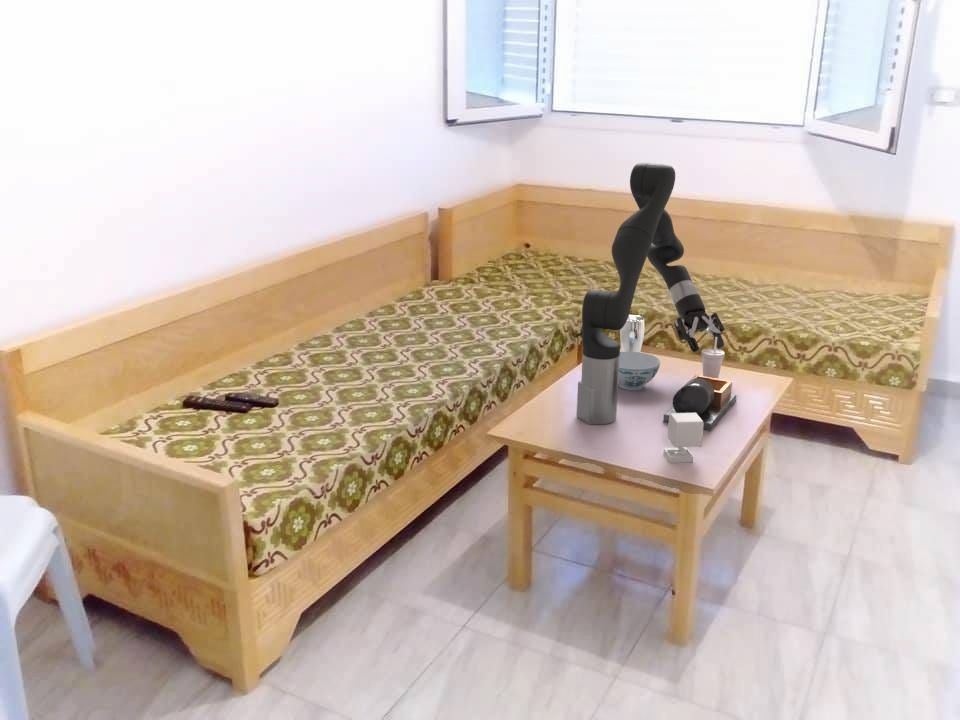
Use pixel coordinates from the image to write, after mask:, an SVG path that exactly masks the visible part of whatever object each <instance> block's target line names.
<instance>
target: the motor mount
mask: <svg viewBox="0 0 960 720" xmlns="http://www.w3.org/2000/svg"><path fill="white" fill-rule="evenodd" d="M732 389H733V381H732V380H726V379H720V378H718V379H717V378H711V377H705V376H703V375H699V374H695V375H694V376H692V377H691V378H690V380H688V381H687V382H686V383H685V384H684V385H683V386H682V387H680V389H678V391H676V393H675V394H674V395H673V398H672V406H671V407H670V408H669V409H667V411H665V412H664V413H663V423H668V424H669V414H670V413H697V414H698V416H699V417H700V418H701V419H702V421H703V423H704V426H703V431H706V432H711V431H712V430H713V429H714V427H716V425H717V424H718V423H719V421H721V419H722V418H723V417H724V416H725V414H726V413H727V412H728V410H729V409H731V407H732V406H733V404H735V402H736V401H737V393H735V392H732Z"/></svg>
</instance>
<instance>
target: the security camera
mask: <svg viewBox="0 0 960 720" xmlns="http://www.w3.org/2000/svg"><path fill="white" fill-rule="evenodd" d="M703 426H704V423H703V421H702V419H701V418H700V417H699V416H698V414H697V413H670V414H669V423H668V429H667V439H668V440H669V441H670V443H671V445H672V446H673V447H664V448H663V455H664V456H665V458H666V459H667V461H668V462H669V463H671V464H675V463H676V464H678V463H693V462H694V455H693V454H692V452H691V451H690V450H689V447H690V448H691V447H693V448H694V447H698V448H701V447H702V445H703V435H704V434H703V433H704V430H703Z"/></svg>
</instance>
